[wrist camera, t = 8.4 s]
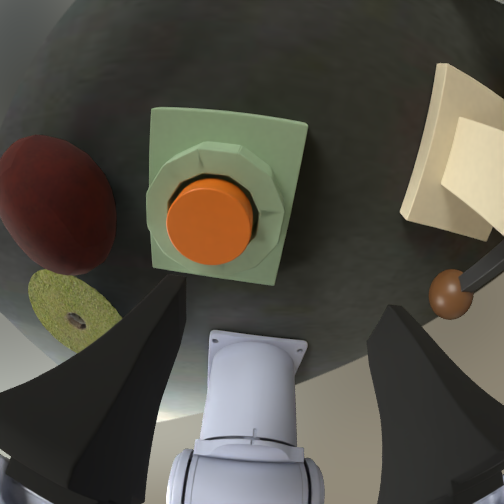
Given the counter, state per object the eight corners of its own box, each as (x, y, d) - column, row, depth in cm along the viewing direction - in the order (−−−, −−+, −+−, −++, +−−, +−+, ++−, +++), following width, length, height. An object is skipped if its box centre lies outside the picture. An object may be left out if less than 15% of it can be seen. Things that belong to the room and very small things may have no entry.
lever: (448, 284, 17) (455, 326, 15) (416, 280, 17) (422, 325, 15) (564, 177, 7) (590, 230, 5) (539, 154, 6) (572, 214, 5)
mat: (21, 266, 21) (10, 278, 19) (98, 244, 19) (85, 259, 17) (78, 347, 26) (71, 360, 25) (159, 347, 24) (153, 363, 23)
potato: (102, 260, 19) (62, 316, 14) (19, 172, 16) (-35, 207, 10) (159, 199, 17) (114, 254, 11) (59, 96, 13) (-10, 113, 8)
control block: (274, 274, 19) (274, 305, 17) (158, 257, 19) (143, 284, 16) (305, 122, 14) (314, 130, 11) (159, 106, 14) (136, 112, 11)
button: (247, 254, 15) (245, 271, 14) (174, 243, 15) (166, 259, 14) (258, 183, 13) (257, 194, 12) (176, 173, 13) (165, 183, 12)
